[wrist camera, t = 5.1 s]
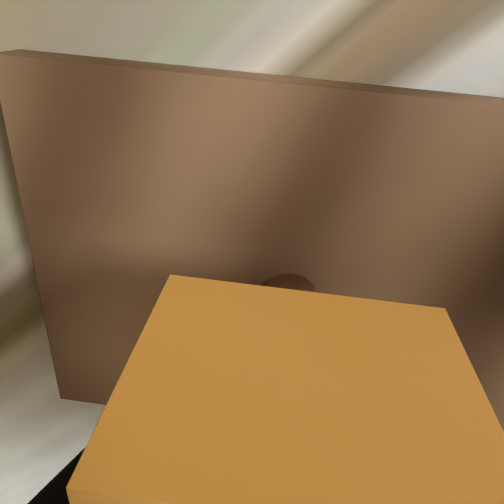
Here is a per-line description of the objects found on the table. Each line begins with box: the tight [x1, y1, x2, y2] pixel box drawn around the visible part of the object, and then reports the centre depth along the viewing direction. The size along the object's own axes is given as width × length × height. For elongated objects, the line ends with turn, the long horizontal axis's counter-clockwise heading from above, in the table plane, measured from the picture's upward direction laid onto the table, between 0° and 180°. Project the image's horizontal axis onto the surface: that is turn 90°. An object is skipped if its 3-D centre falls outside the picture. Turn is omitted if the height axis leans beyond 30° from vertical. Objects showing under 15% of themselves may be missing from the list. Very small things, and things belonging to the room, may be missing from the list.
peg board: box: [0, 49, 504, 431], centre depth 11 cm, size 16×12×6 cm
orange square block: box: [66, 275, 504, 504], centre depth 8 cm, size 5×5×4 cm
